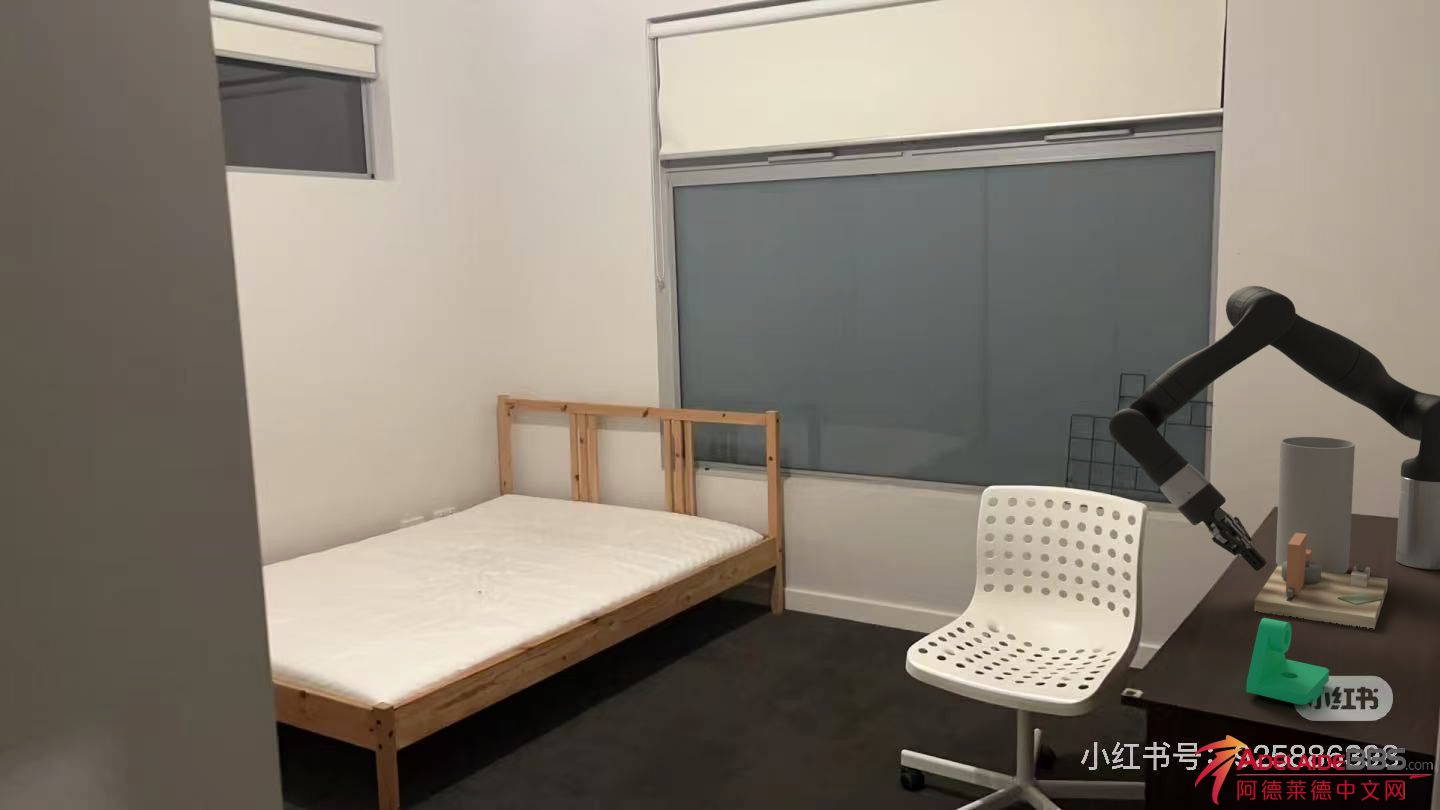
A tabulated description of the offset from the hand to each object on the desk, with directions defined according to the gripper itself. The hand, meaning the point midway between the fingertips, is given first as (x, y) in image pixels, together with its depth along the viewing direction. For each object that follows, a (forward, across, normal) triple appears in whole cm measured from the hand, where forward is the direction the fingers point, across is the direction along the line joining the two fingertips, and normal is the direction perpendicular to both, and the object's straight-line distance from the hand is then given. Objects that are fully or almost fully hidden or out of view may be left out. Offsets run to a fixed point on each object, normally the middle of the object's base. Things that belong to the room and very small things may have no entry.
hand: (1262, 567), depth 197 cm
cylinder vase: (+8, +22, 0) cm, 24 cm away
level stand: (+10, +2, -3) cm, 11 cm away
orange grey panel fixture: (+6, +3, -2) cm, 7 cm away
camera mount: (+12, -43, -4) cm, 45 cm away
